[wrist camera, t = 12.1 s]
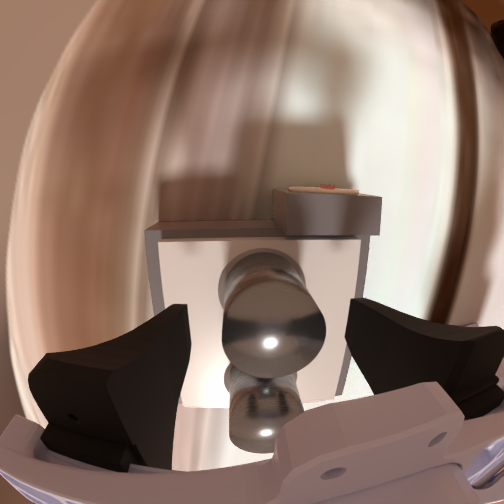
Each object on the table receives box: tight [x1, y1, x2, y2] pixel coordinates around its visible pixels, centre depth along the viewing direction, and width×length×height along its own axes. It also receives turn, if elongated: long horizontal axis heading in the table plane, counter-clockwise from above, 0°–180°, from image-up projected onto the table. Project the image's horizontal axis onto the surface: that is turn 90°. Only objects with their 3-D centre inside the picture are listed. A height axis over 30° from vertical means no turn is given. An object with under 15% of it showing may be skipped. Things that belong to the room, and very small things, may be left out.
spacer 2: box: [229, 365, 304, 453], centre depth 14 cm, size 4×4×5 cm
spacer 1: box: [222, 252, 326, 378], centre depth 12 cm, size 4×4×5 cm
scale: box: [144, 185, 382, 408], centre depth 17 cm, size 13×15×5 cm
